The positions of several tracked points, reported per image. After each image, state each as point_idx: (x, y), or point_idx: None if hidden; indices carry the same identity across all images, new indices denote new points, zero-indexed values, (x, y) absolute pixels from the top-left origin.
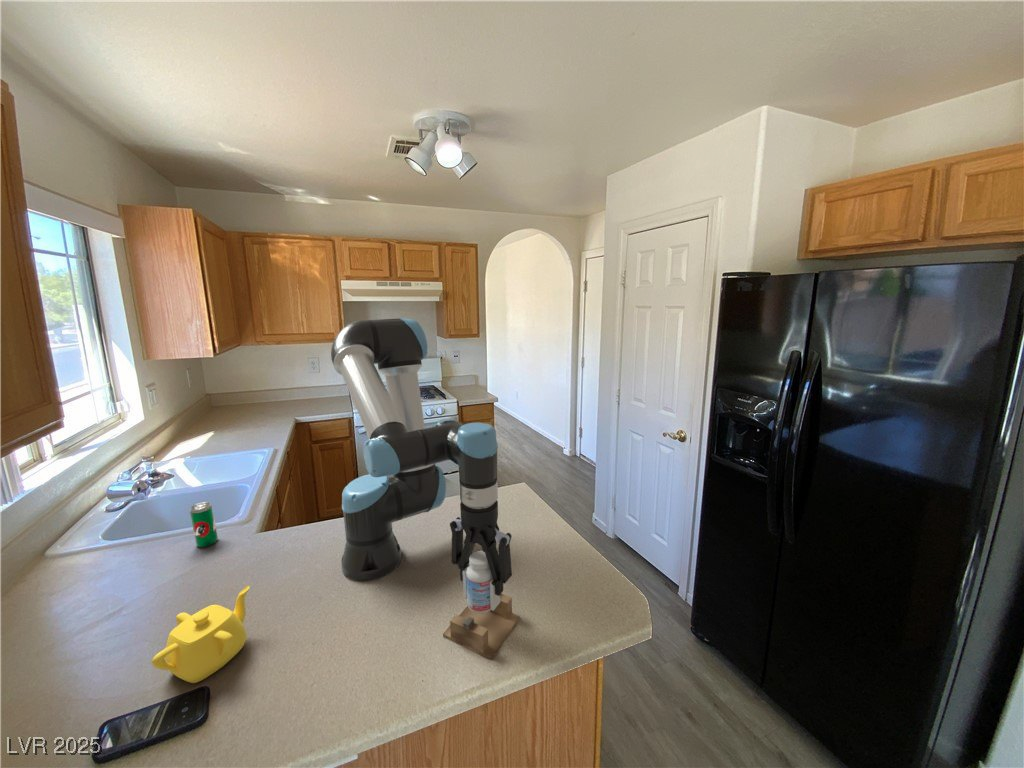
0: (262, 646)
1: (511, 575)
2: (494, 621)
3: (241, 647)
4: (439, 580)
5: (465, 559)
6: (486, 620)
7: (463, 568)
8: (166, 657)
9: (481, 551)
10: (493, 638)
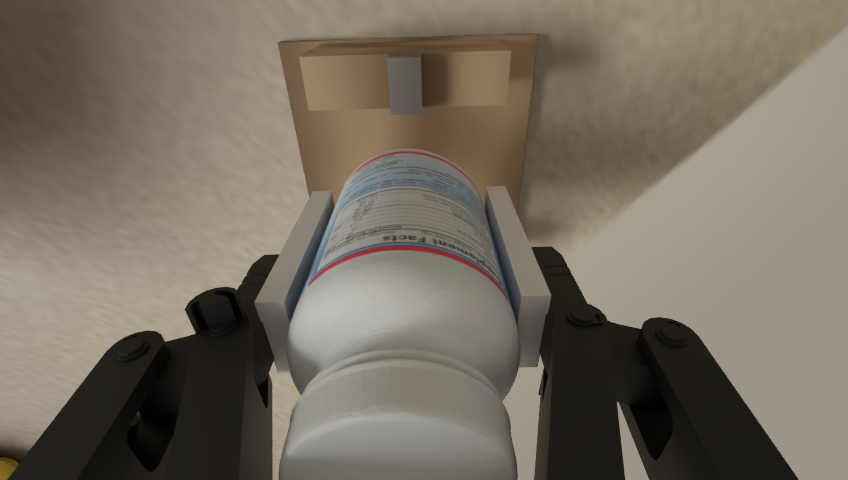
0: (22, 437)
1: (690, 334)
2: (446, 124)
3: (7, 469)
4: (28, 23)
5: (269, 474)
6: (414, 136)
7: (268, 371)
8: None
9: (340, 437)
10: (484, 192)
